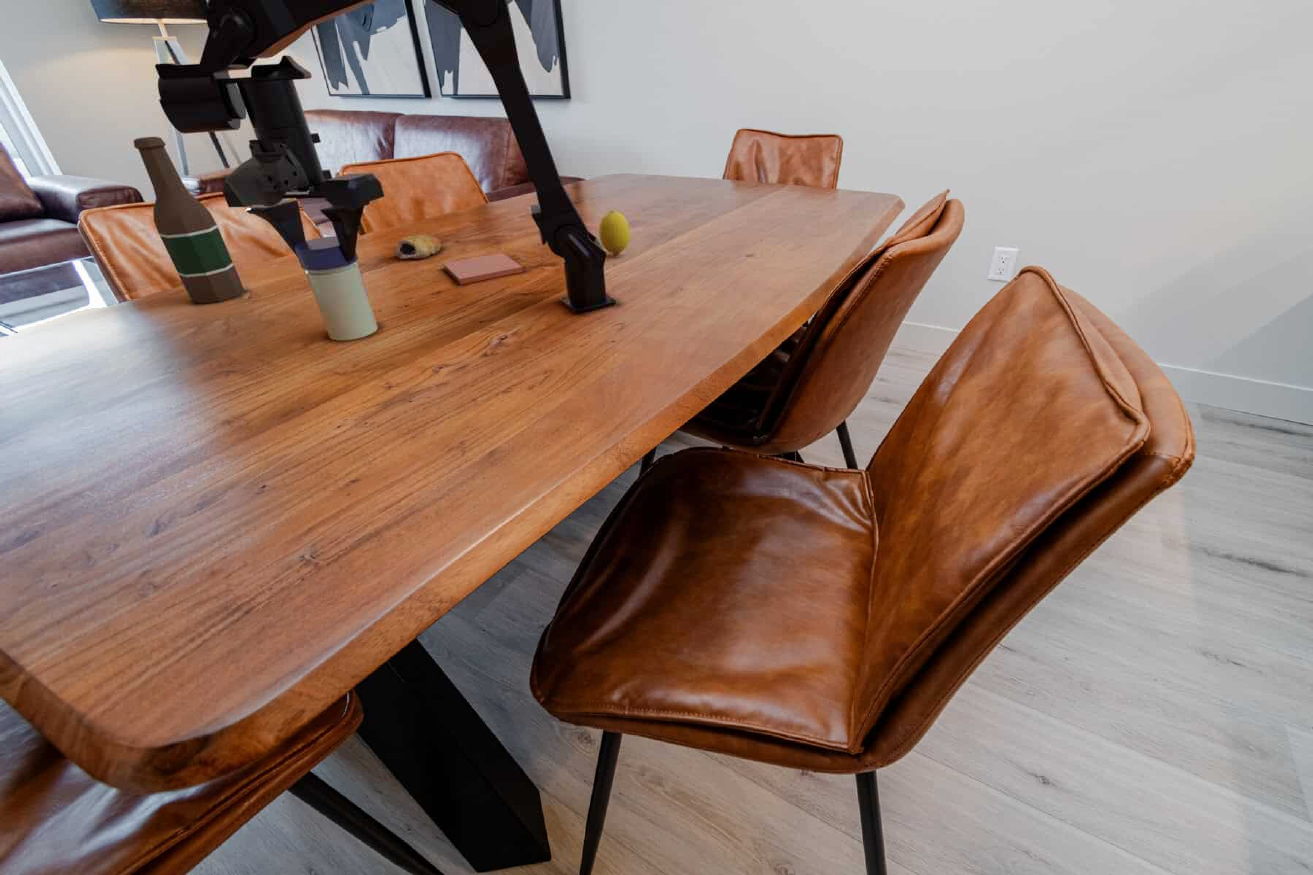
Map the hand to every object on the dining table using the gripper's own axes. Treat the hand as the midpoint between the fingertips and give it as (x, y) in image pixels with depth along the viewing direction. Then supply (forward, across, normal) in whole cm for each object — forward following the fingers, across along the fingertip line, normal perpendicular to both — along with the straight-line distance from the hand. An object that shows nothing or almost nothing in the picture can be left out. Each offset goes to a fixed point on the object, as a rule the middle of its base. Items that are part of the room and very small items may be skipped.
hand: (327, 260), depth 78 cm
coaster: (+10, +6, +29) cm, 31 cm away
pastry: (+10, -12, +38) cm, 41 cm away
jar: (+10, 0, 0) cm, 10 cm away
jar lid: (-2, 0, 0) cm, 2 cm away
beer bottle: (+10, -34, +12) cm, 38 cm away
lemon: (+10, +27, +39) cm, 49 cm away
